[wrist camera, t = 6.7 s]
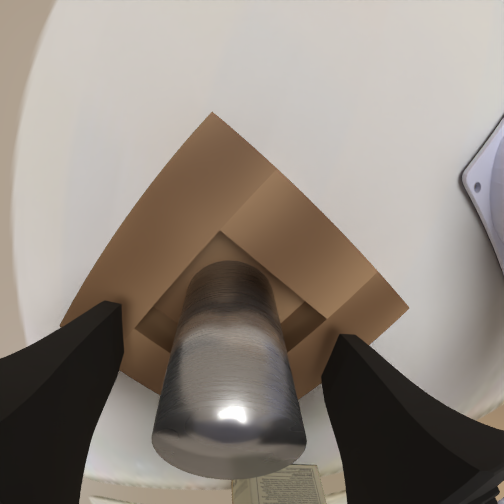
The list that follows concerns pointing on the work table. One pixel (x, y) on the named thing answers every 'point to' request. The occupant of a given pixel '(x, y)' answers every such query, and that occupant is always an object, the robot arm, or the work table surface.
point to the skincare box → (281, 487)
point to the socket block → (234, 258)
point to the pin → (229, 381)
